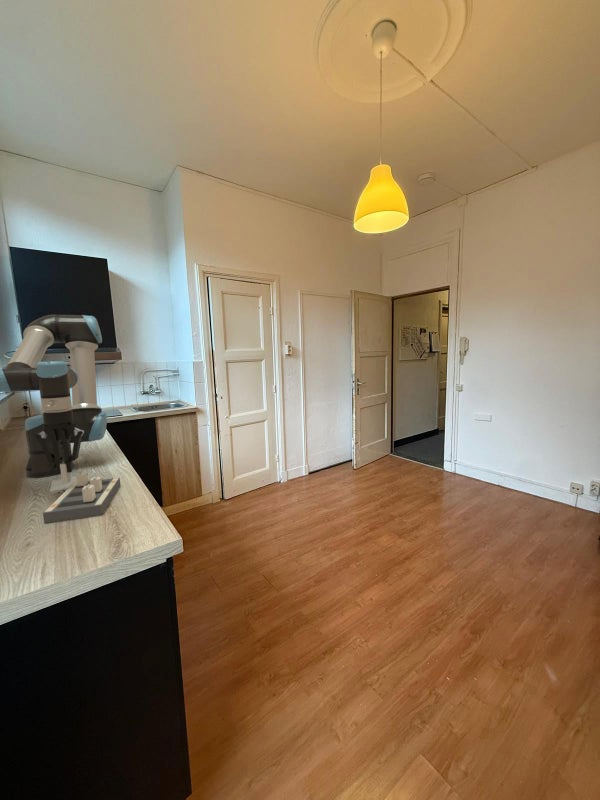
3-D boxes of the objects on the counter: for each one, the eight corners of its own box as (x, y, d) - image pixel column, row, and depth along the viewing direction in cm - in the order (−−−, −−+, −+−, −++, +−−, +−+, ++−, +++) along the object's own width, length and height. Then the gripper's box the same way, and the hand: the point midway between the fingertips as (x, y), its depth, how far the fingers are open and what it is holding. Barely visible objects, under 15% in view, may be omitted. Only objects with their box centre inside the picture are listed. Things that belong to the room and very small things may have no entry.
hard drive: (52, 480, 115) (49, 491, 105) (79, 475, 120) (79, 485, 110) (52, 484, 116) (49, 496, 105) (79, 479, 120) (79, 490, 110)
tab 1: (79, 483, 105) (78, 471, 104) (88, 482, 106) (86, 470, 105) (77, 486, 103) (75, 473, 102) (85, 485, 104) (84, 472, 103)
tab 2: (86, 498, 94) (84, 484, 93) (95, 497, 94) (94, 483, 94) (83, 502, 91) (81, 487, 91) (93, 501, 92) (91, 486, 91)
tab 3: (93, 489, 100) (92, 476, 100) (102, 488, 101) (100, 475, 100) (91, 492, 98) (89, 479, 97) (100, 491, 99) (98, 478, 98)
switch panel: (74, 491, 107) (73, 482, 107) (120, 485, 112) (119, 477, 111) (44, 523, 87) (42, 512, 86) (102, 514, 91) (101, 504, 90)
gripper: (26, 414, 94) (37, 489, 97) (77, 411, 98) (85, 483, 101) (38, 410, 101) (48, 480, 104) (85, 407, 105) (93, 475, 108)
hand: (66, 482), depth 103 cm, fingers closed
